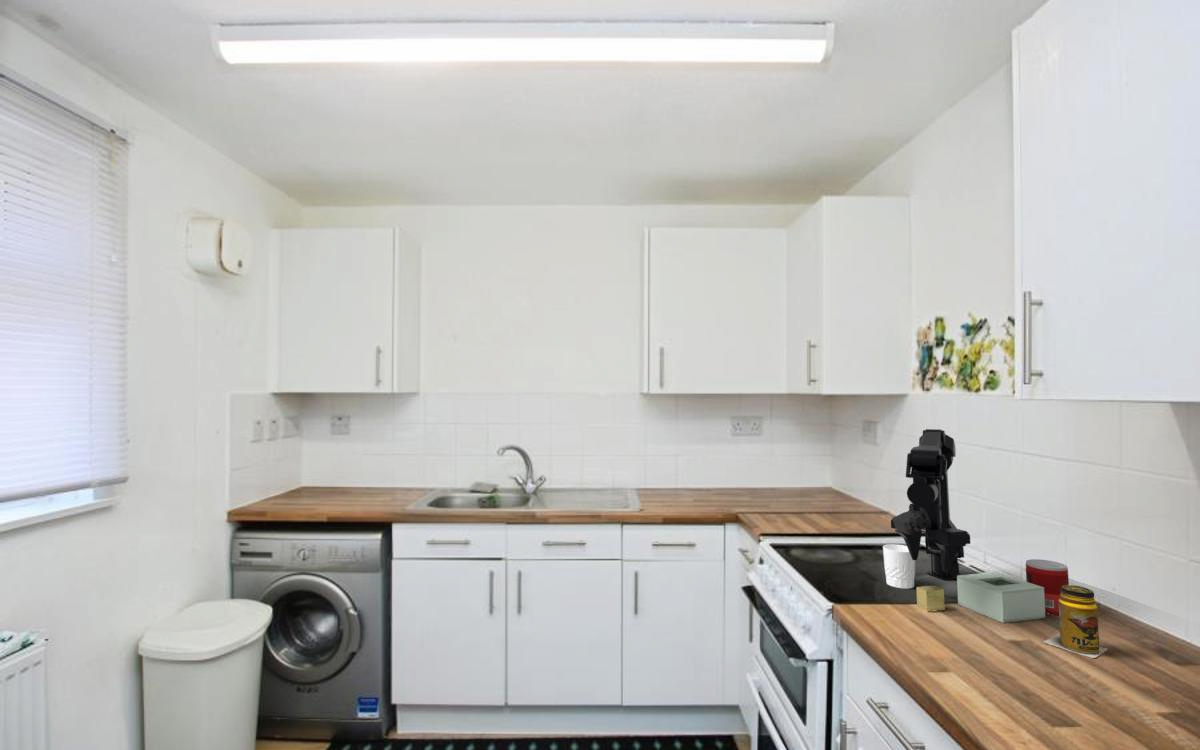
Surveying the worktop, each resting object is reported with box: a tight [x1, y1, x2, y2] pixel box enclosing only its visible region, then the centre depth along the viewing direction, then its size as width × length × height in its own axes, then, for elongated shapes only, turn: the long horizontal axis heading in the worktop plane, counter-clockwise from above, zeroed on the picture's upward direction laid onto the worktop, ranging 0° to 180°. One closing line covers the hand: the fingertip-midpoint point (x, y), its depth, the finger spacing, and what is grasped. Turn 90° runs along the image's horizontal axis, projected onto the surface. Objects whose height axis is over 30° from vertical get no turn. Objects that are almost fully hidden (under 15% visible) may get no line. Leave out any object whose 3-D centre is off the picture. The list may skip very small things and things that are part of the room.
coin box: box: [956, 571, 1046, 624], centre depth 132 cm, size 12×12×7 cm
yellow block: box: [916, 585, 945, 611], centre depth 133 cm, size 3×5×5 cm, turn 103°
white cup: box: [882, 543, 916, 590], centre depth 151 cm, size 8×8×10 cm
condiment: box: [1042, 584, 1109, 659], centre depth 113 cm, size 7×8×12 cm
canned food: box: [1025, 558, 1070, 616], centre depth 133 cm, size 8×8×11 cm
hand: (929, 565), depth 134 cm, fingers open, 9 cm apart
